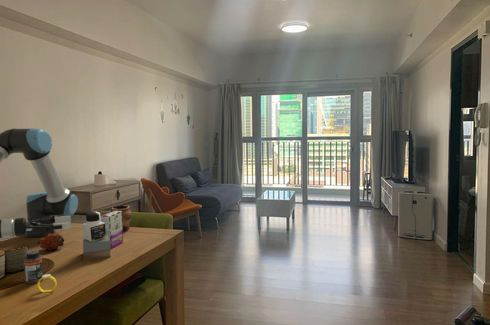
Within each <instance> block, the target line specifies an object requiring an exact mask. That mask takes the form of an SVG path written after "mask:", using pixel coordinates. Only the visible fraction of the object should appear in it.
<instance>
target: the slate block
mask: <svg viewBox="0 0 490 325" xmlns="http://www.w3.org/2000/svg"><path fill="white" fill-rule="evenodd" d="M82 249H83V250H84V253H86V252H93V251H101V250H109V249H110V239H109V236H108V235H106V238H103V239H100V240H96V241H93V242H91V241H88V240H86V239H84V236H83V237H82ZM83 250H82V251H83ZM110 250H111V249H110Z"/></svg>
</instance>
